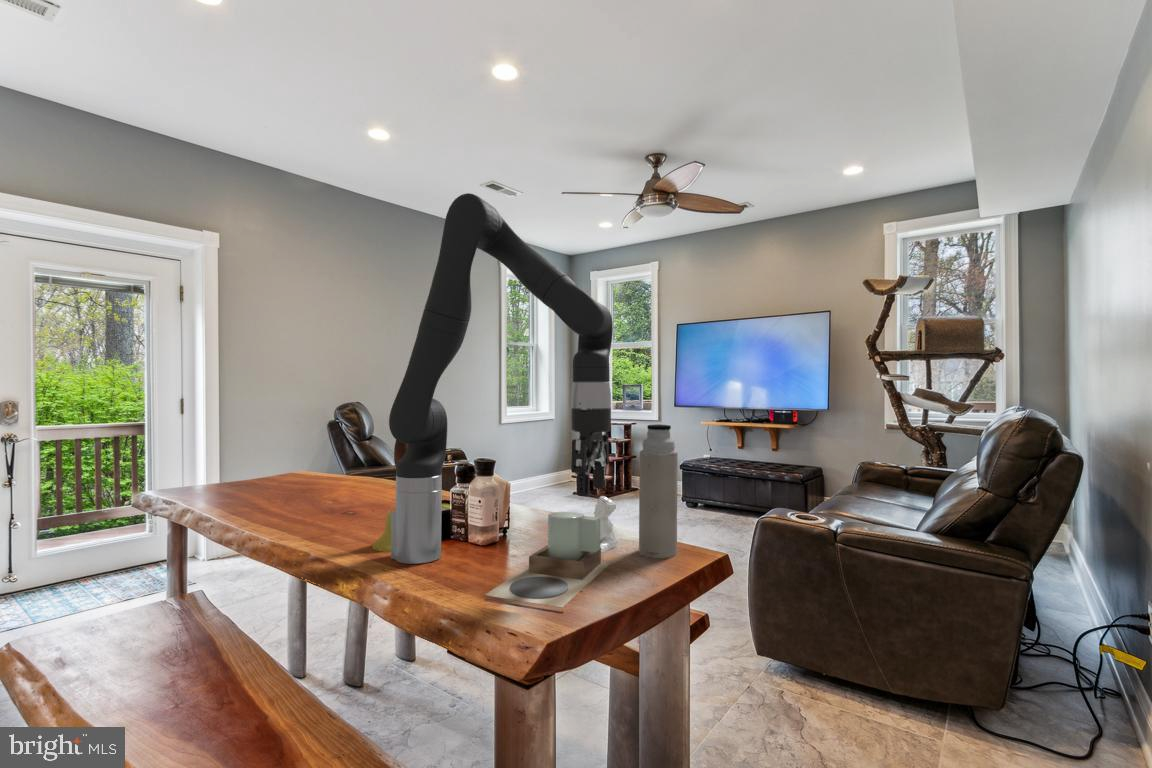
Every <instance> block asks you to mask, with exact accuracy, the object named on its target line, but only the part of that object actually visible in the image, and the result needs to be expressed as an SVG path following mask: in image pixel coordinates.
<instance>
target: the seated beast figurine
mask: <svg viewBox="0 0 1152 768" xmlns="http://www.w3.org/2000/svg"><path fill="white" fill-rule="evenodd" d="M594 506H595V508H594V511H593V517H600V548H601V554H602V553H605V552H608V551H609V550H612V549H615V548H616V547H617V546H618V545H619V540H620V539H619V537H618V535H617V534H616V531H615V528H614V524H613V522H612V519H611V518H610V516H611V514H613V513H614V512H615V510H616V509H617V507H616V506H617V505H616V504H615V503H614V502H613V500H612V499H610V498H608V497H606V496H605V495H600V496H599V498H598V499H597V501H596V504H595V505H594Z"/></svg>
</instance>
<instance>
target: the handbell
mask: <svg viewBox="0 0 1152 768" xmlns="http://www.w3.org/2000/svg"><path fill="white" fill-rule="evenodd" d="M407 448H408V443H401V442H399V441H397V440H396V439H395V443H394V447H393V449H394V450H393V454H394V455H393V461H394V466H395V467H396V464H397V462H398V461H399V460H400V459H401V458H402V457H403V456H404V454H405V453H406V451H407ZM394 511H396V506H395V507H394V508H393V510H391V511H389V512H388V513H387V514H386V515H385V516H386V517H385V529H384V531H383V533H382V535H381V536H380V537H379V538H378V539H377V540H376V541H374V542H373V544H372V549H373V550H374V551H377V550H378V551H379V552H382V551H383V552H384V553H391V514H392V512H394ZM378 551H377V552H378Z"/></svg>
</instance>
